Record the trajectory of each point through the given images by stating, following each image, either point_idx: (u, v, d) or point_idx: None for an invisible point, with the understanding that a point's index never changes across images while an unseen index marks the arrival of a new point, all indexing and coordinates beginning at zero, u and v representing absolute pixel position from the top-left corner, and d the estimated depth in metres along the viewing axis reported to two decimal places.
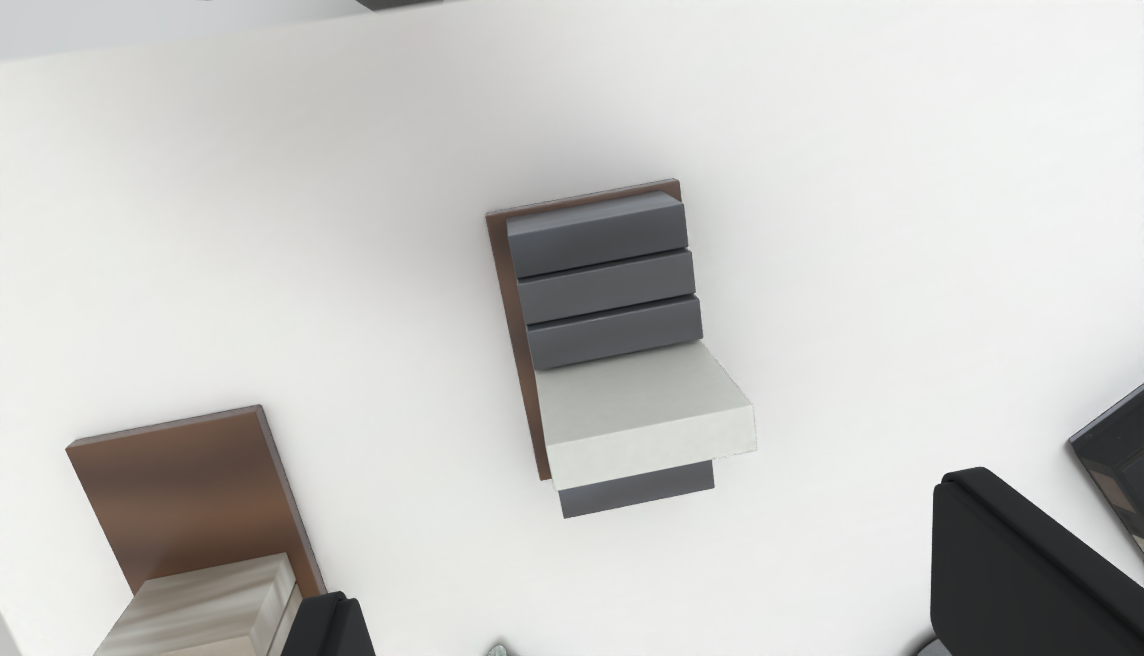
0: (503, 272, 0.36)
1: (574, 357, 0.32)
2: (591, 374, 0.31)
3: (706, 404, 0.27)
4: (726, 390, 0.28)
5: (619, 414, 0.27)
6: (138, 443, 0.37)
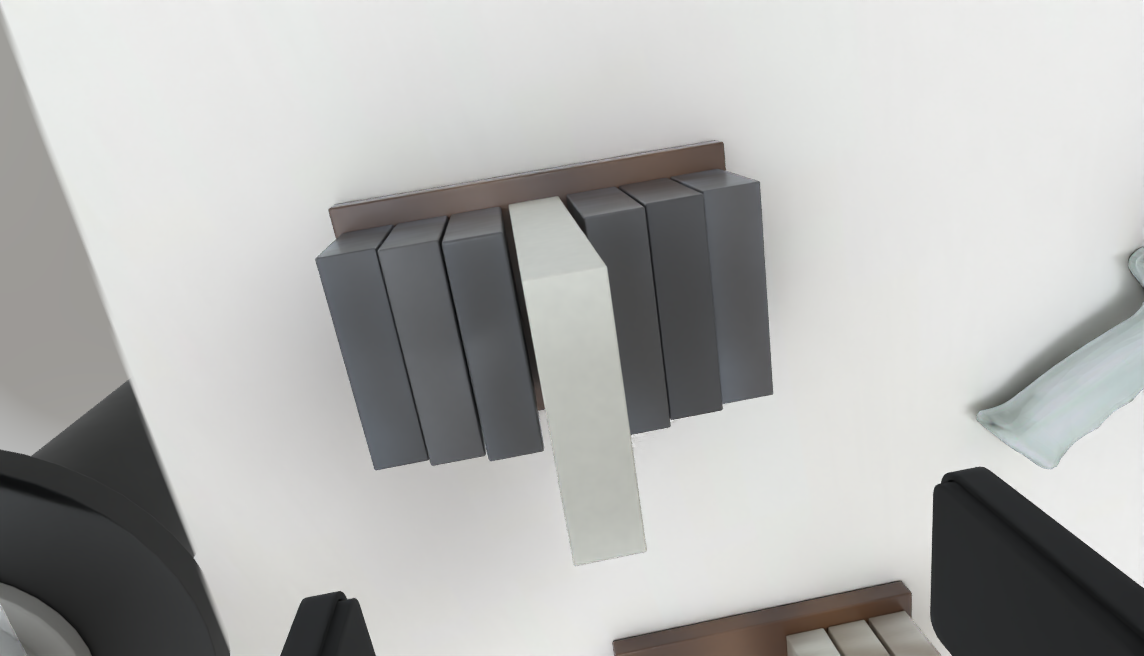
0: None
1: (526, 404, 0.24)
2: None
3: None
4: None
5: None
6: None
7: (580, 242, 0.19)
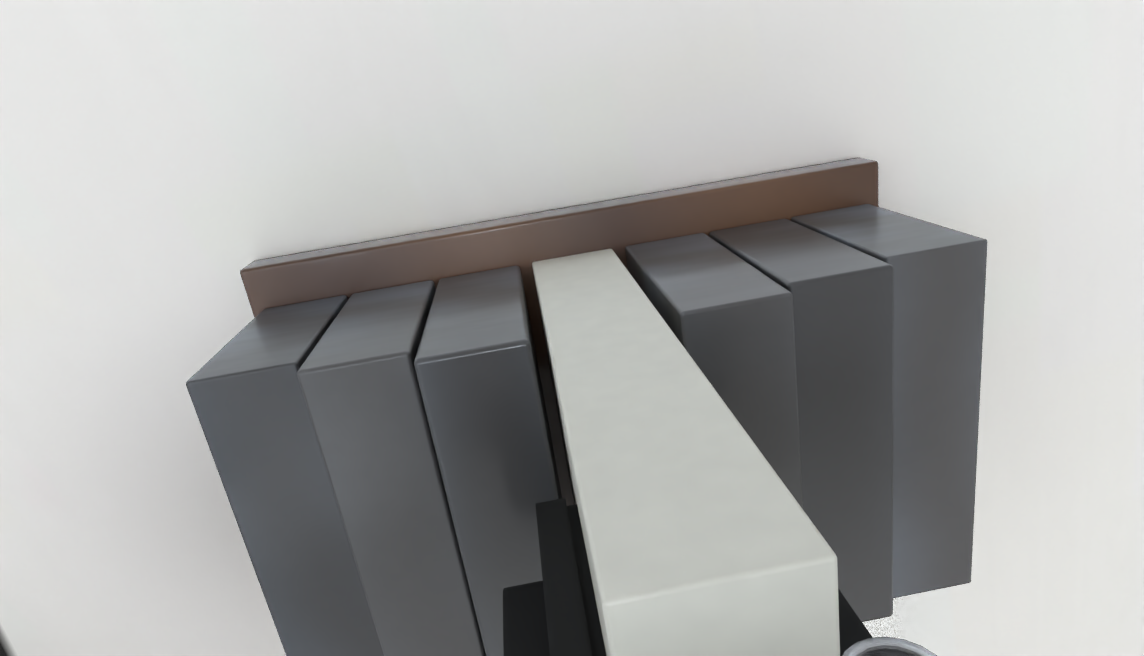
0: None
1: None
2: None
3: None
4: (587, 540, 0.07)
5: None
6: None
7: (707, 408, 0.08)
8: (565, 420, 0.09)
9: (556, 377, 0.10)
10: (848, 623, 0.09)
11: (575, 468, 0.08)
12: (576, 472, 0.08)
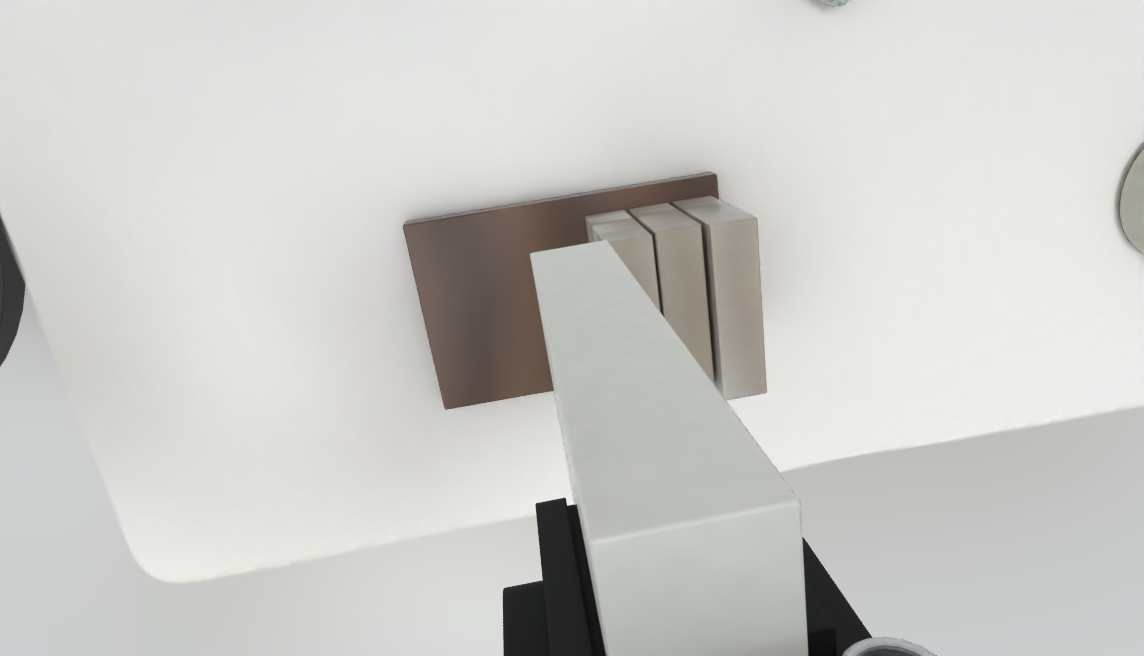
0: None
1: None
2: None
3: None
4: None
5: None
6: (439, 344, 0.36)
7: (691, 380, 0.09)
8: (559, 392, 0.09)
9: (551, 355, 0.11)
10: (848, 623, 0.09)
11: (567, 432, 0.08)
12: (568, 436, 0.08)
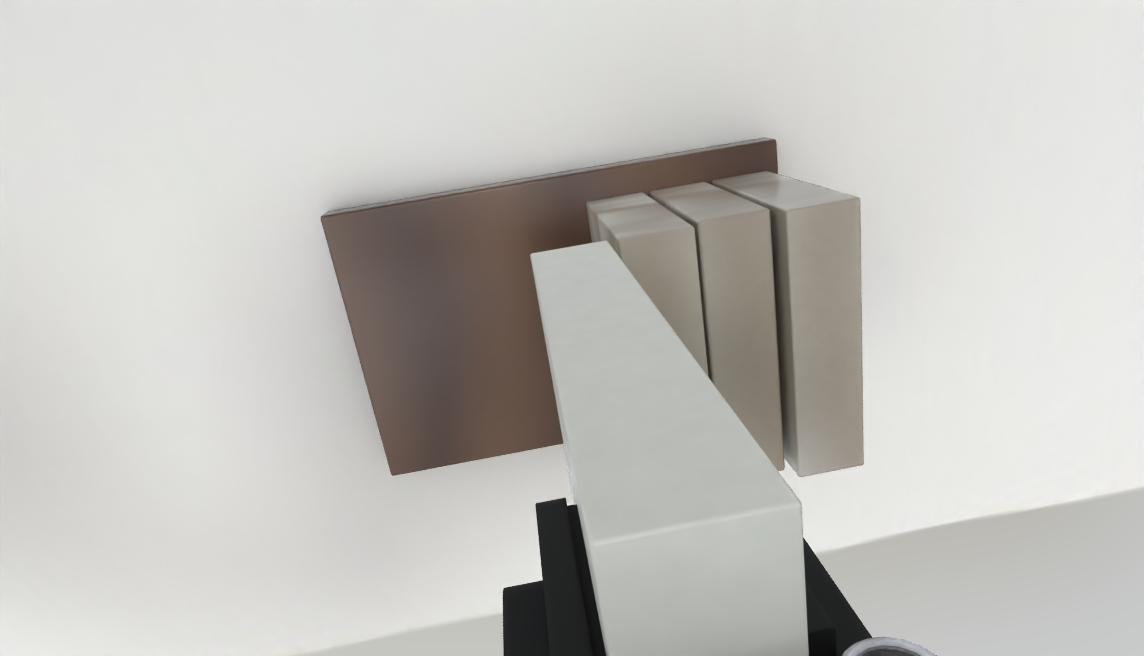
0: None
1: None
2: None
3: (601, 623, 0.08)
4: (578, 498, 0.08)
5: None
6: (380, 386, 0.25)
7: (691, 381, 0.09)
8: (559, 393, 0.09)
9: (552, 356, 0.11)
10: (848, 623, 0.09)
11: (568, 434, 0.08)
12: (569, 437, 0.08)
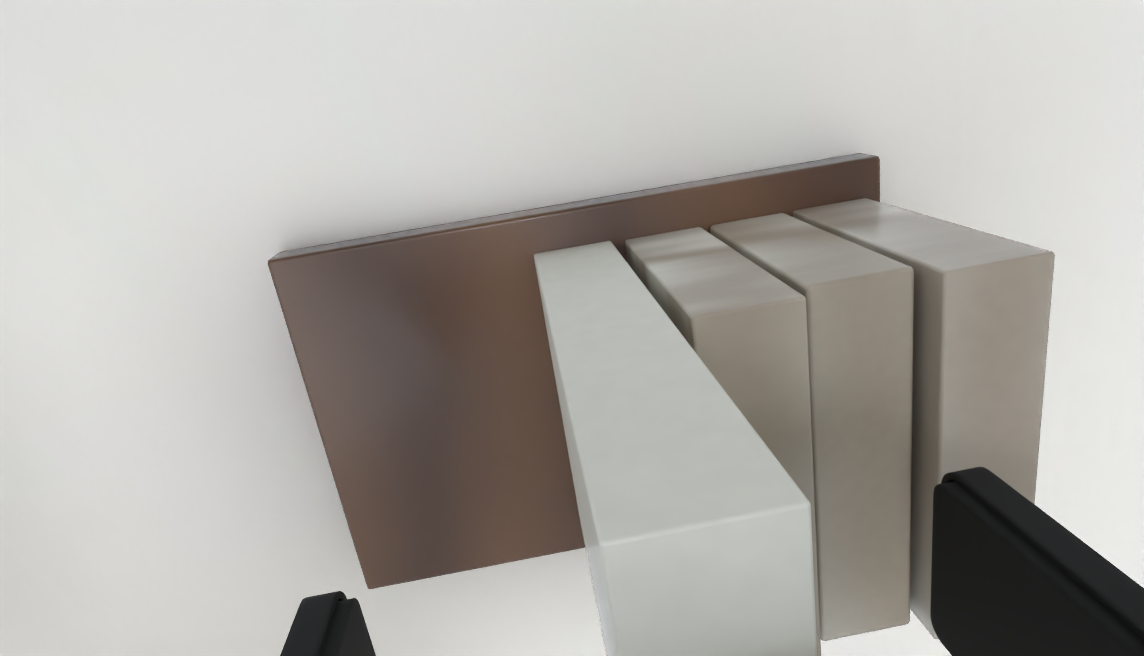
0: None
1: None
2: (597, 599, 0.13)
3: (609, 624, 0.08)
4: (586, 498, 0.08)
5: None
6: (351, 479, 0.19)
7: (698, 382, 0.09)
8: (566, 393, 0.09)
9: (557, 356, 0.11)
10: None
11: (575, 434, 0.08)
12: (576, 437, 0.08)
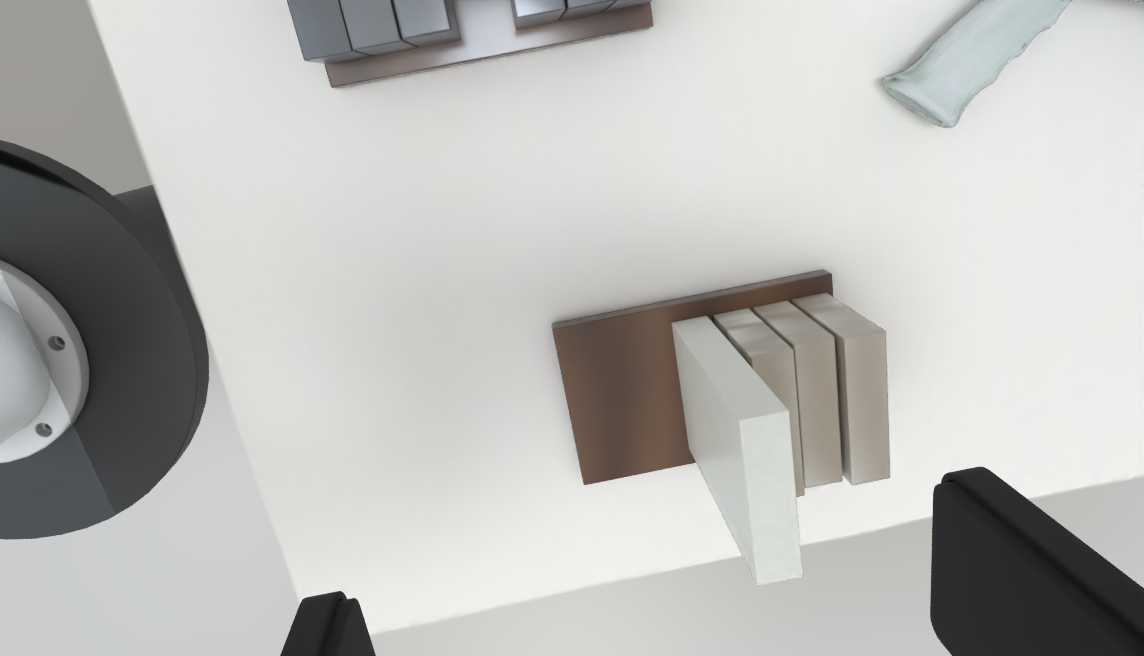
0: (392, 68, 0.33)
1: None
2: (713, 467, 0.34)
3: (736, 447, 0.28)
4: (728, 414, 0.29)
5: (740, 509, 0.30)
6: (581, 429, 0.40)
7: (757, 381, 0.30)
8: (715, 386, 0.30)
9: (706, 373, 0.31)
10: None
11: (723, 397, 0.29)
12: (723, 398, 0.29)
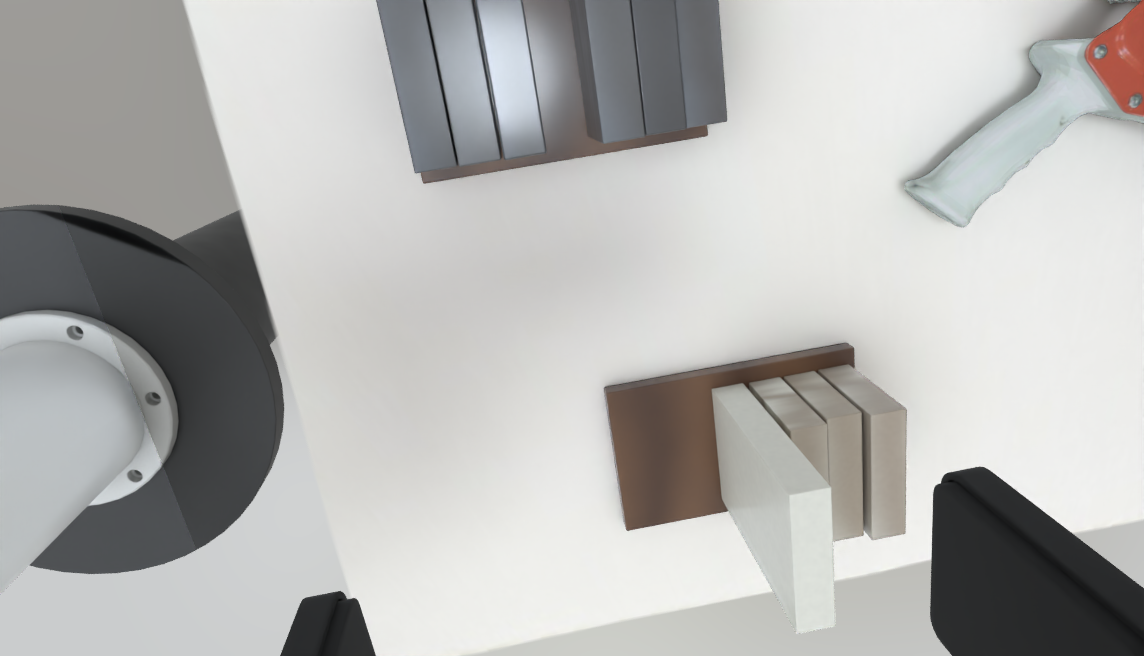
0: (478, 168, 0.37)
1: (533, 110, 0.31)
2: (752, 523, 0.39)
3: (784, 515, 0.33)
4: (776, 487, 0.33)
5: (783, 566, 0.34)
6: (626, 481, 0.44)
7: (799, 456, 0.34)
8: (762, 458, 0.35)
9: (752, 445, 0.36)
10: None
11: (771, 471, 0.33)
12: (772, 472, 0.33)
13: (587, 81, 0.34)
